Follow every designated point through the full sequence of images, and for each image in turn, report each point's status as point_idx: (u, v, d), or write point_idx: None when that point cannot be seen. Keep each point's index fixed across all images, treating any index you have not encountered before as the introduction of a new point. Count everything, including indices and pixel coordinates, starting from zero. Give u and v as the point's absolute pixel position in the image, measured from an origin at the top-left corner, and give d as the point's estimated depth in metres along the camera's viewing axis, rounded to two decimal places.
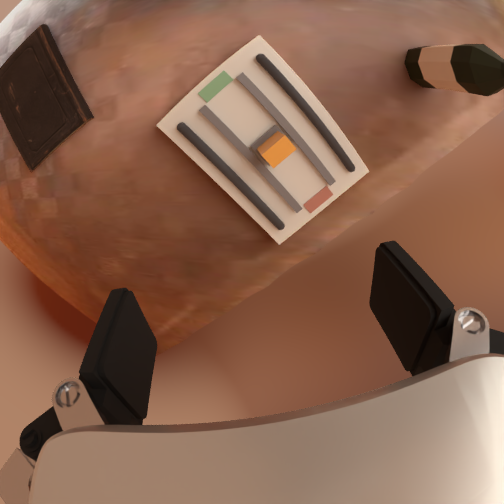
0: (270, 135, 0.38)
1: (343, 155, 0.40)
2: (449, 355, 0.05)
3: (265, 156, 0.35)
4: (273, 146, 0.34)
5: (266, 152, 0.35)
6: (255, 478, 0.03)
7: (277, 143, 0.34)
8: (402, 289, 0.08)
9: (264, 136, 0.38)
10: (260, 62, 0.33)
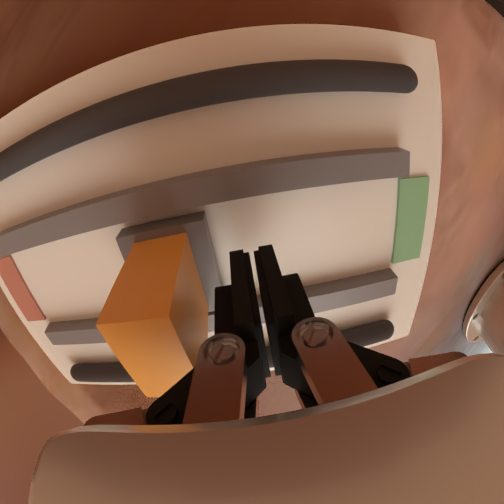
0: (206, 285, 0.13)
1: (106, 380, 0.16)
2: (313, 383, 0.06)
3: (158, 325, 0.07)
4: (184, 360, 0.08)
5: (171, 335, 0.08)
6: (255, 478, 0.03)
7: None
8: (261, 293, 0.09)
9: (211, 269, 0.13)
10: (381, 329, 0.16)
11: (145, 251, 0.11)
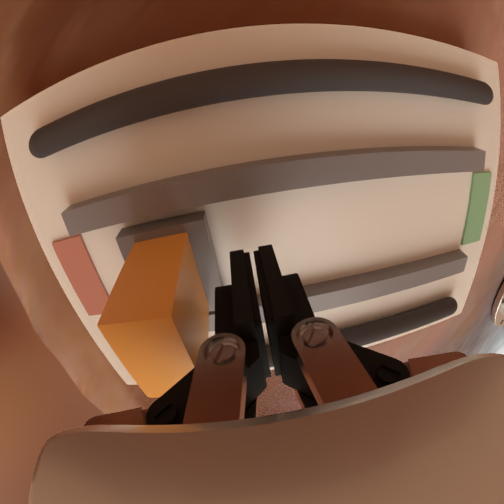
0: (206, 284, 0.13)
1: None
2: (313, 383, 0.06)
3: (160, 325, 0.07)
4: (186, 360, 0.08)
5: (174, 335, 0.08)
6: (255, 478, 0.03)
7: None
8: (261, 293, 0.09)
9: (212, 268, 0.13)
10: (449, 305, 0.17)
11: (145, 251, 0.11)
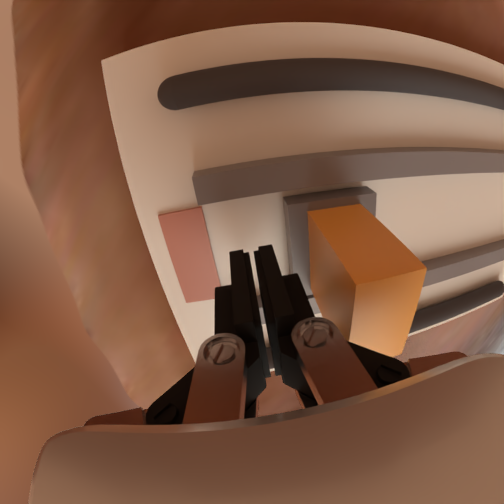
0: None
1: None
2: (313, 383, 0.06)
3: (414, 278, 0.07)
4: (410, 316, 0.08)
5: (418, 288, 0.08)
6: (255, 478, 0.03)
7: (405, 329, 0.08)
8: (261, 293, 0.09)
9: None
10: (499, 287, 0.16)
11: (333, 218, 0.11)
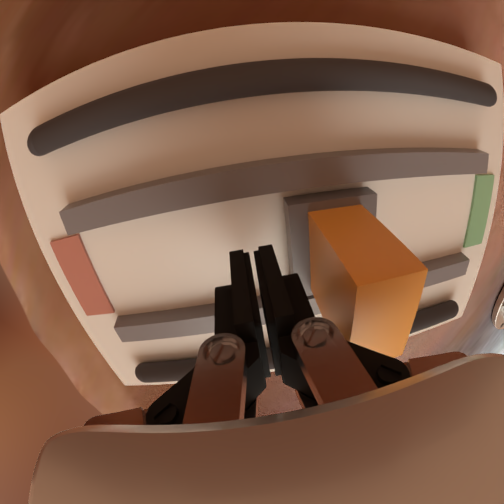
0: None
1: None
2: (313, 383, 0.06)
3: (416, 279, 0.07)
4: (411, 317, 0.08)
5: (419, 289, 0.07)
6: (255, 478, 0.03)
7: (406, 331, 0.08)
8: (261, 293, 0.09)
9: None
10: (450, 308, 0.16)
11: (334, 219, 0.11)
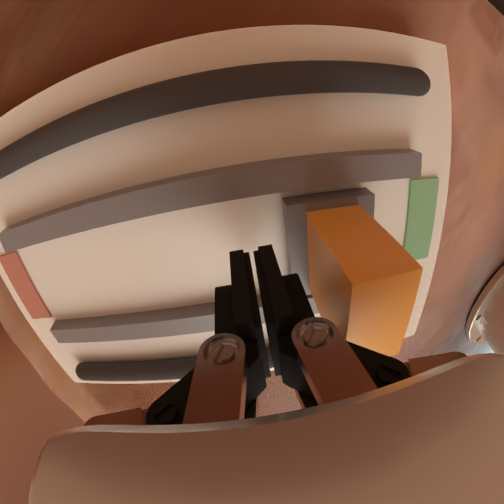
0: None
1: (112, 379, 0.16)
2: (313, 383, 0.06)
3: (411, 278, 0.07)
4: (407, 316, 0.08)
5: (414, 288, 0.08)
6: (255, 478, 0.03)
7: (402, 329, 0.09)
8: (261, 293, 0.09)
9: None
10: None
11: (332, 219, 0.11)
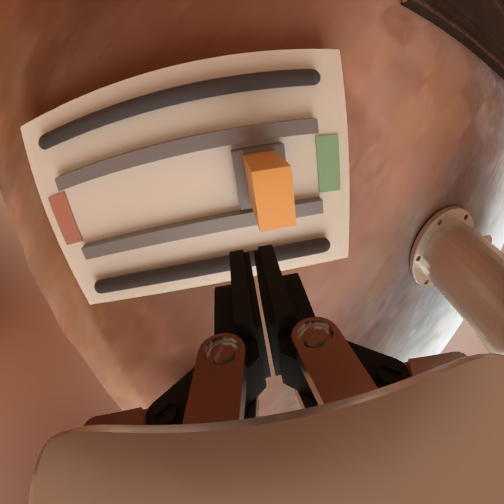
0: None
1: (122, 286, 0.25)
2: (313, 383, 0.06)
3: (285, 170, 0.16)
4: (291, 195, 0.17)
5: (289, 177, 0.17)
6: (255, 478, 0.03)
7: (291, 205, 0.18)
8: (261, 293, 0.09)
9: None
10: (318, 242, 0.26)
11: (255, 156, 0.20)
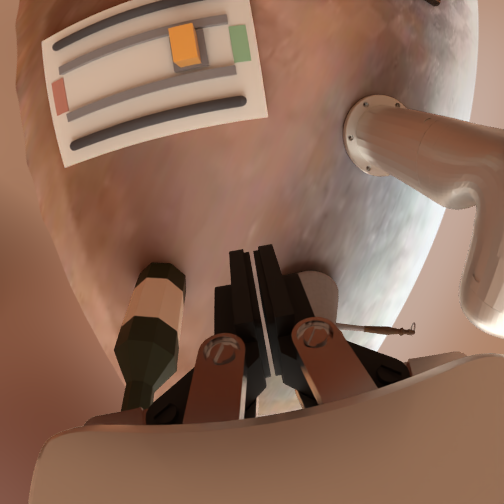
0: (201, 53, 0.26)
1: (89, 139, 0.29)
2: (313, 383, 0.06)
3: (188, 25, 0.20)
4: (193, 39, 0.21)
5: (191, 29, 0.21)
6: (255, 478, 0.03)
7: (193, 44, 0.21)
8: (261, 293, 0.09)
9: (204, 46, 0.25)
10: (236, 97, 0.29)
11: None
